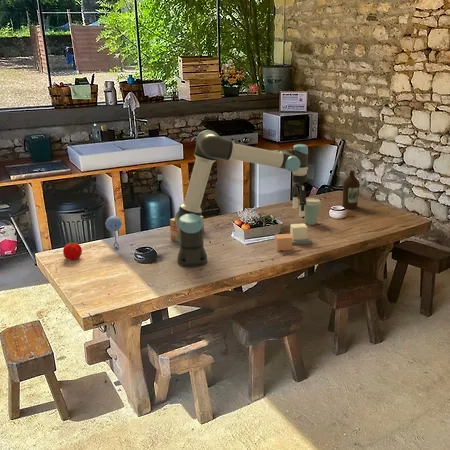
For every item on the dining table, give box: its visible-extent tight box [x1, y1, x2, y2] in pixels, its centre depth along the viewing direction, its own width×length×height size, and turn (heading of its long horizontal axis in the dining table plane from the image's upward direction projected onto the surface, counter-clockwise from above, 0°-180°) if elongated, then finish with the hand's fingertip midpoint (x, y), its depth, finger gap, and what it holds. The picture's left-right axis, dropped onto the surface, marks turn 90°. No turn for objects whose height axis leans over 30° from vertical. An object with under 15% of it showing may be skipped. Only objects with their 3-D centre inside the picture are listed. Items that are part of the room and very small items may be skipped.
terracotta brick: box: [274, 233, 293, 252], centre depth 263 cm, size 8×6×7 cm
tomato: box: [62, 242, 83, 261], centre depth 255 cm, size 9×10×8 cm
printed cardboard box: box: [169, 215, 205, 243], centre depth 283 cm, size 21×6×12 cm, turn 140°
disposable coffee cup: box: [303, 198, 322, 225], centre depth 298 cm, size 11×11×15 cm
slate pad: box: [292, 234, 313, 246], centre depth 274 cm, size 12×12×2 cm
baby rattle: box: [104, 215, 123, 249], centre depth 266 cm, size 9×9×18 cm
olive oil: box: [342, 169, 361, 210], centre depth 324 cm, size 11×11×25 cm
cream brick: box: [289, 223, 308, 240], centre depth 273 cm, size 8×6×7 cm
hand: (298, 212), depth 268 cm, fingers open, 13 cm apart
